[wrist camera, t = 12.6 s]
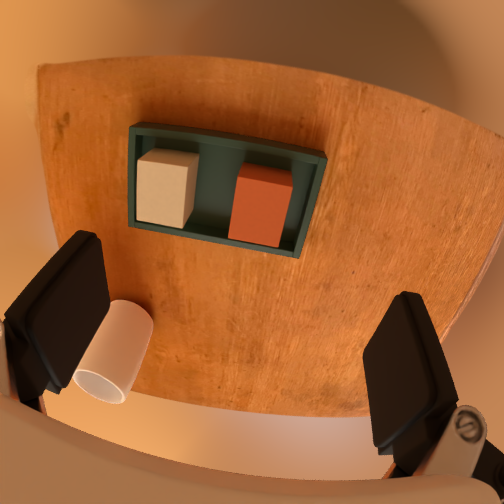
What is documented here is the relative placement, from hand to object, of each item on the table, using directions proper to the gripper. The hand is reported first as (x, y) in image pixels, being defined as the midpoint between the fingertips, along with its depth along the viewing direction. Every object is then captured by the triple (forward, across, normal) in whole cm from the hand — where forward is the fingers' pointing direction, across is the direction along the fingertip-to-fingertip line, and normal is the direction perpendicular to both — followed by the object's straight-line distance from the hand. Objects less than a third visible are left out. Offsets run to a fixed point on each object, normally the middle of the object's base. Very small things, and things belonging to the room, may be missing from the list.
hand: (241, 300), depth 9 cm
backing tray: (+24, +4, +7) cm, 26 cm away
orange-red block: (+24, 0, +7) cm, 25 cm away
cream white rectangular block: (+24, +10, +7) cm, 26 cm away
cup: (+24, +16, +30) cm, 41 cm away
